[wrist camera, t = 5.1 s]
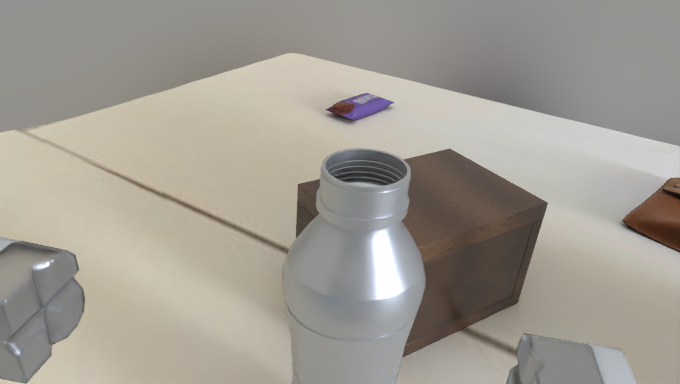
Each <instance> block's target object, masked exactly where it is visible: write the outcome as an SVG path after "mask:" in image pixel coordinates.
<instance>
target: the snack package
mask: <svg viewBox="0 0 680 384" xmlns="http://www.w3.org/2000/svg"><path fill="white" fill-rule="evenodd" d="M392 103H394V102H392V101H389V100H386V99H383V98H380V97H377V96H374V95H371V94H368V93H365V94H361V95H358V96H355V97H352V98H349V99H346V100H342V101H340V102H338V103H336V104H334V105H333V106H332V107H330V108H328V109H326V110H327V111H330V112H333V113H335V114H338V115H341V116H343V117H346V118H349V119H352V120H356V119H360V118H362V117H365V116H368V115H370V114H373V113H376V112H378V111H381V110H383V109H384V108H386V107H387V106H388V105H390V104H392Z"/></svg>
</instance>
